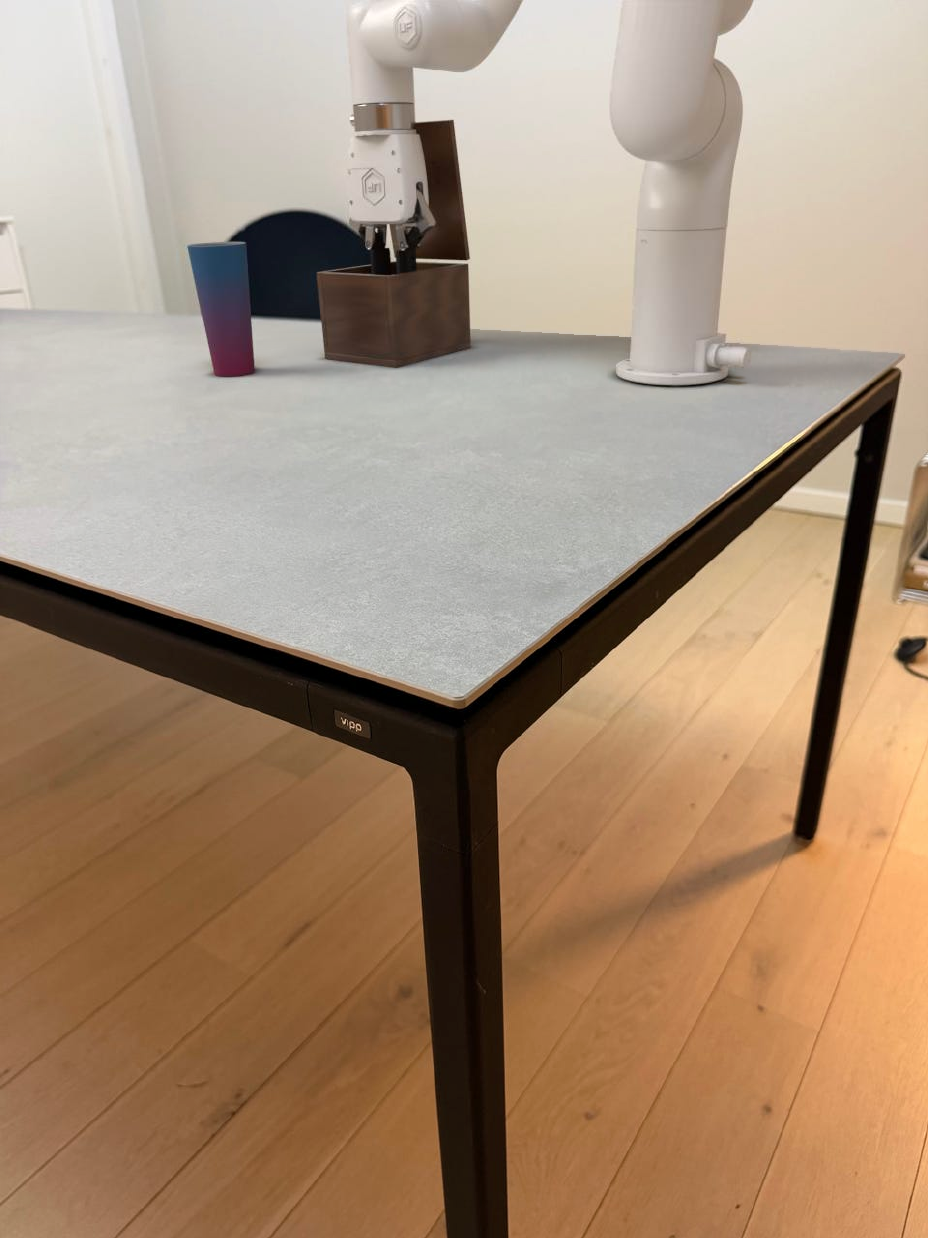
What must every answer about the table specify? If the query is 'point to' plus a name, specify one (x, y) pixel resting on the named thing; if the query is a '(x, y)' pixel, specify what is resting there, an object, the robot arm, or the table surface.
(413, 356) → the brown wooden box
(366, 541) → the table surface
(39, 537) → the table surface
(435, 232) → the lid
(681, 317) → the robot arm
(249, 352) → the cup
